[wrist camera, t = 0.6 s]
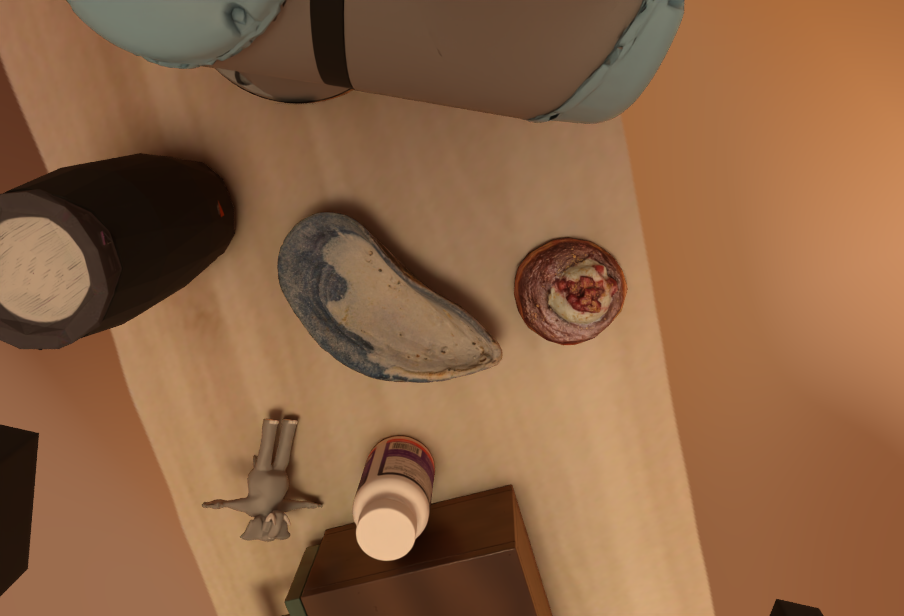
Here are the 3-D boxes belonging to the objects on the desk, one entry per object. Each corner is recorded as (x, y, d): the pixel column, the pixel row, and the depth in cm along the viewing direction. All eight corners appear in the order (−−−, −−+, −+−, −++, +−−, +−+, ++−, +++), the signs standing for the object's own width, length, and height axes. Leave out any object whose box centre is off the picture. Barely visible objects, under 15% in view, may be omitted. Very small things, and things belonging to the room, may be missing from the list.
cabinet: (378, 665, 64) (361, 749, 56) (325, 529, 61) (300, 597, 53) (555, 626, 62) (566, 707, 54) (511, 484, 59) (515, 547, 51)
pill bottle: (392, 507, 60) (374, 583, 51) (353, 455, 59) (328, 523, 50) (449, 475, 59) (441, 546, 50) (410, 421, 58) (395, 484, 49)
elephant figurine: (356, 428, 59) (336, 546, 58) (315, 416, 63) (295, 525, 62) (238, 419, 52) (214, 551, 51) (202, 406, 56) (179, 528, 56)
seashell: (493, 194, 53) (494, 204, 48) (503, 362, 56) (504, 386, 52) (280, 207, 54) (259, 218, 49) (301, 372, 57) (284, 397, 53)
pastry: (641, 261, 54) (654, 281, 49) (597, 352, 56) (605, 379, 51) (537, 220, 53) (540, 235, 48) (497, 314, 55) (496, 337, 51)
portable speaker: (251, 160, 53) (123, 197, 34) (235, 286, 56) (107, 384, 37) (132, 134, 53) (-63, 157, 34) (121, 262, 56) (-65, 348, 37)
